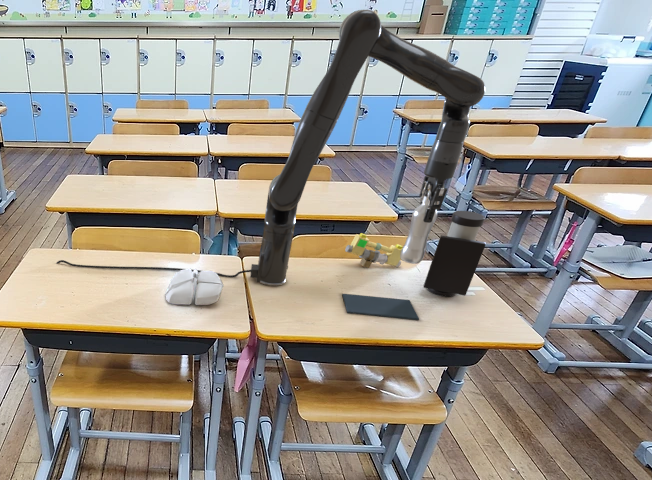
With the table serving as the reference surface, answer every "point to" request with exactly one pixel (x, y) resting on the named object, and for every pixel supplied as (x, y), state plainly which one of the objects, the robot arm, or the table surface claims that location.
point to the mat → (379, 306)
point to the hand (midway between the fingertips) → (424, 218)
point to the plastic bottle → (417, 235)
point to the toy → (374, 252)
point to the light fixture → (456, 256)
